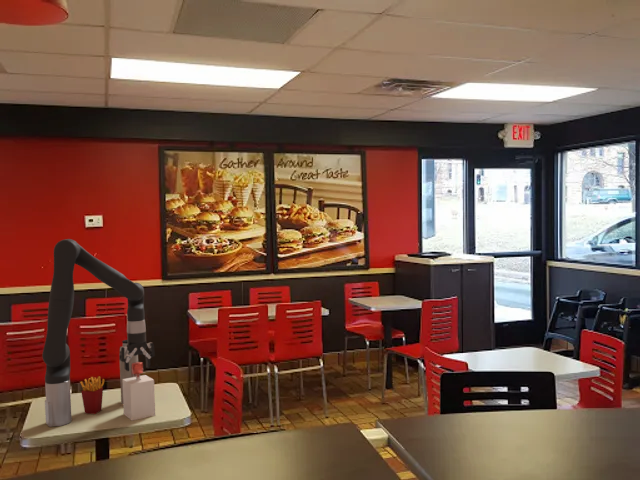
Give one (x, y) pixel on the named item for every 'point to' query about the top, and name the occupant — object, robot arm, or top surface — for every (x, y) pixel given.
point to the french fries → (92, 395)
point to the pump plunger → (137, 369)
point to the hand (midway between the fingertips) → (137, 369)
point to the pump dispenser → (138, 397)
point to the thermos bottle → (123, 372)
